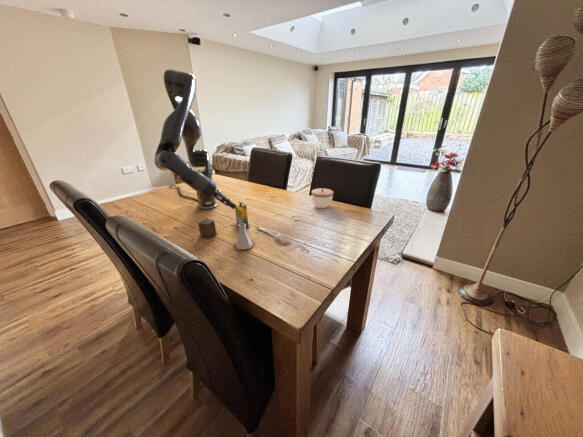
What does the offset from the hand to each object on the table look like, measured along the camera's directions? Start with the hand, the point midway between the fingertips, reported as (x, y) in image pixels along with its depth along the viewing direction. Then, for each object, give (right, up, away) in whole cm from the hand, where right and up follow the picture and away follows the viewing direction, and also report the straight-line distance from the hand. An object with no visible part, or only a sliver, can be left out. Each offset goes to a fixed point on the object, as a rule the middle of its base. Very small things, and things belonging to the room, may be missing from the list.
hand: (232, 204), depth 111 cm
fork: (+19, -15, -3) cm, 24 cm away
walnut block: (-11, -14, -1) cm, 18 cm away
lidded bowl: (+46, +1, +29) cm, 55 cm away
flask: (+8, -18, -10) cm, 23 cm away
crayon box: (+4, -10, +7) cm, 13 cm away
